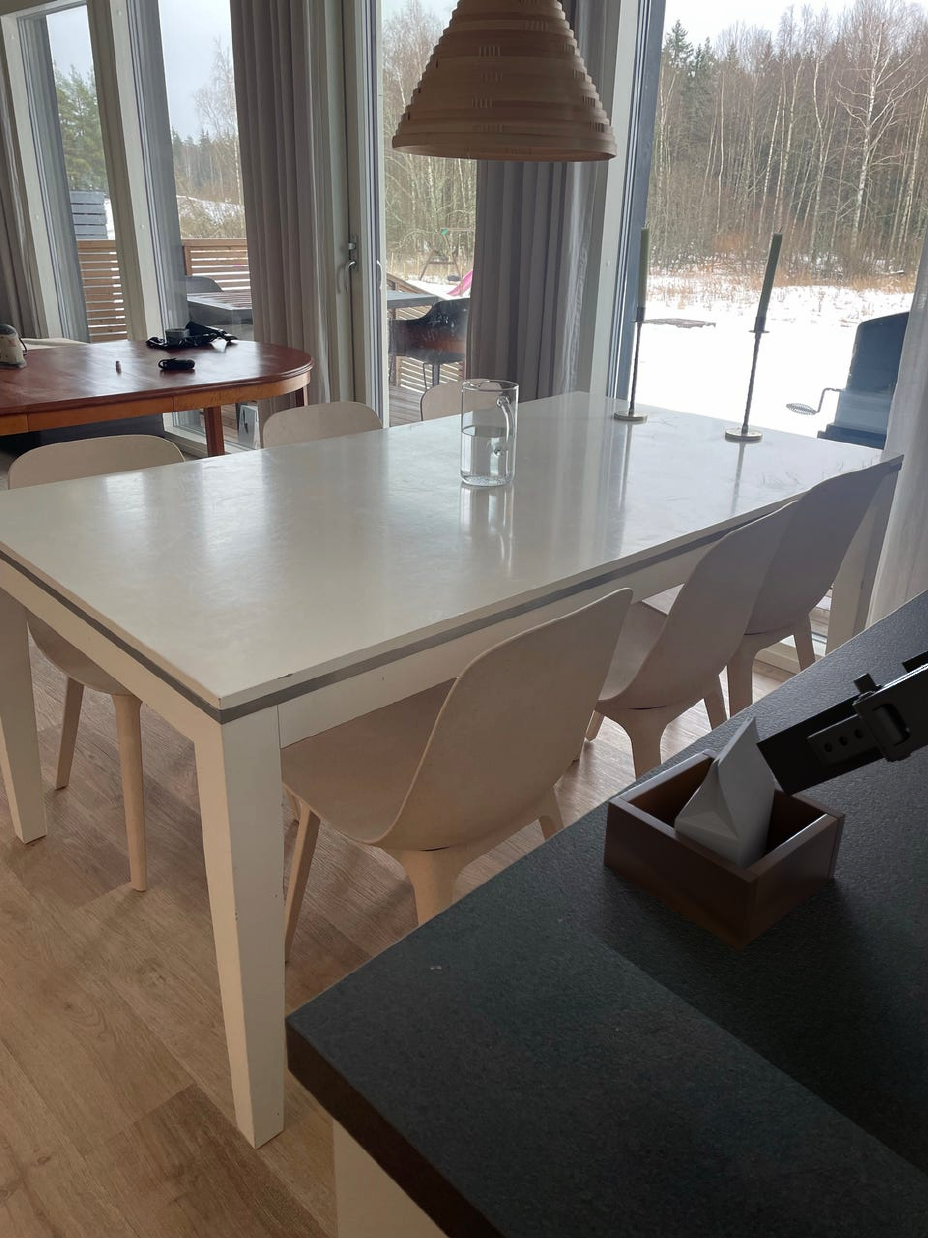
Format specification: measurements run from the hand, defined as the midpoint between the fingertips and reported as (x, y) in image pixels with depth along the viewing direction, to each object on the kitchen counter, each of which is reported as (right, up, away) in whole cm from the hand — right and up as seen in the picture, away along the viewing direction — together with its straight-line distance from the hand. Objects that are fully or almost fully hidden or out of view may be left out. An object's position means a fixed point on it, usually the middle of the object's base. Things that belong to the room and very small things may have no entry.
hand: (852, 722), depth 46 cm
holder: (-4, -12, +10) cm, 16 cm away
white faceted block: (-4, -11, +9) cm, 15 cm away
